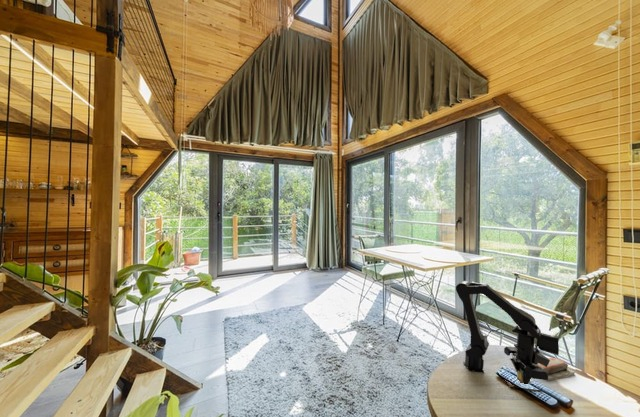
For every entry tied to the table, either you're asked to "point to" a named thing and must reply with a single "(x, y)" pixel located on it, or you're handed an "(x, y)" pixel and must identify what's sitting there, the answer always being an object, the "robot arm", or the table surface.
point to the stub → (517, 378)
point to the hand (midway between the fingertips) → (523, 382)
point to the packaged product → (556, 369)
